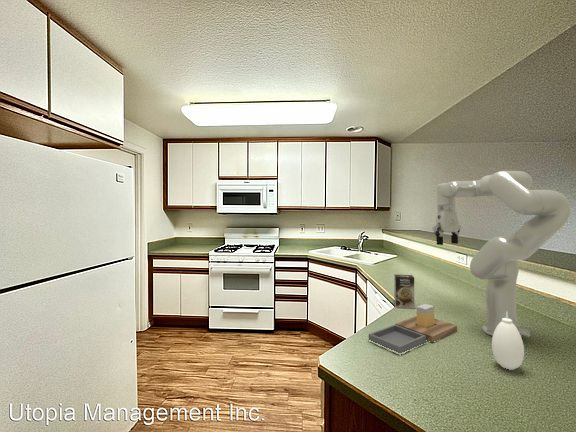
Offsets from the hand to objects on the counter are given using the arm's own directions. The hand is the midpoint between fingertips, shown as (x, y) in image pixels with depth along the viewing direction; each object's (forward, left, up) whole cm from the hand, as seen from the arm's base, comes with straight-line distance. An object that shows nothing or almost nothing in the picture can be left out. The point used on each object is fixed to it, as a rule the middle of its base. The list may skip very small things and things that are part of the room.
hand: (447, 244), depth 140 cm
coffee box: (+18, +10, -33) cm, 39 cm away
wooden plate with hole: (-6, +29, -33) cm, 44 cm away
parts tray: (-6, +48, -33) cm, 59 cm away
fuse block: (-6, +29, -33) cm, 44 cm away
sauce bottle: (-37, +36, -33) cm, 61 cm away
